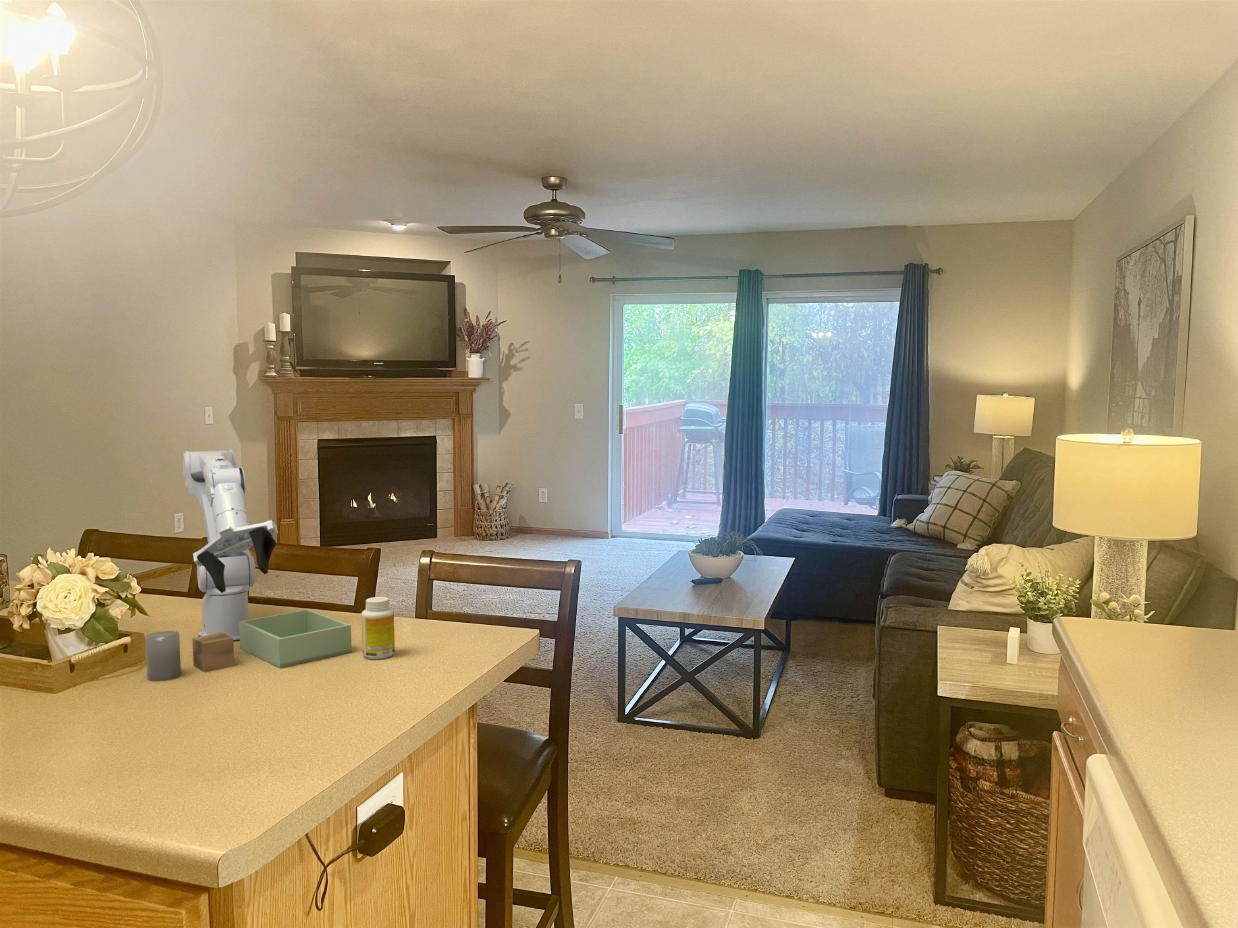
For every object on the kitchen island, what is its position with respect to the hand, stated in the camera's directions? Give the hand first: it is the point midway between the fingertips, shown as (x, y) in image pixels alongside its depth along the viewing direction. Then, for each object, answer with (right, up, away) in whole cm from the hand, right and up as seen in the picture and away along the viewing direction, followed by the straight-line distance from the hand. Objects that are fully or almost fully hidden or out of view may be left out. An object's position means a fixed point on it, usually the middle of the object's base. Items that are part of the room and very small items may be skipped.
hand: (242, 580), depth 153 cm
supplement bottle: (+22, -14, +6) cm, 27 cm away
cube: (-5, -15, +1) cm, 16 cm away
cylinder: (-11, -15, -5) cm, 19 cm away
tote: (+6, -14, +10) cm, 18 cm away
